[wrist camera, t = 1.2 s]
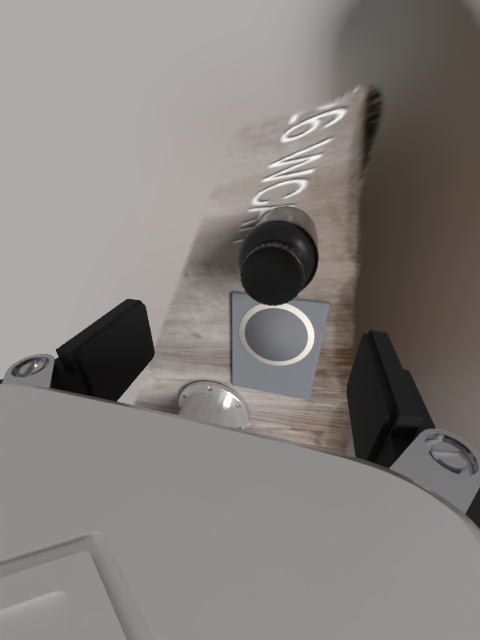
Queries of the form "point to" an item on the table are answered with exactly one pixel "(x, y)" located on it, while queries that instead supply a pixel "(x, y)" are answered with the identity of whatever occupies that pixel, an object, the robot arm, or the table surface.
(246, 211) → the table surface
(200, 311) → the table surface
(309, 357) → the mat
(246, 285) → the supplement bottle
